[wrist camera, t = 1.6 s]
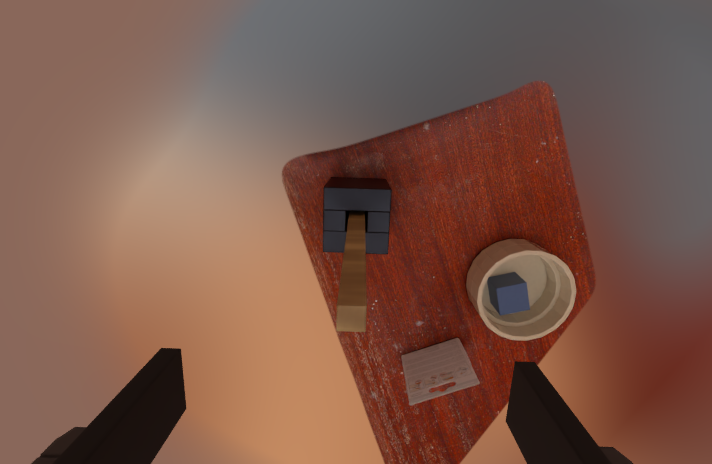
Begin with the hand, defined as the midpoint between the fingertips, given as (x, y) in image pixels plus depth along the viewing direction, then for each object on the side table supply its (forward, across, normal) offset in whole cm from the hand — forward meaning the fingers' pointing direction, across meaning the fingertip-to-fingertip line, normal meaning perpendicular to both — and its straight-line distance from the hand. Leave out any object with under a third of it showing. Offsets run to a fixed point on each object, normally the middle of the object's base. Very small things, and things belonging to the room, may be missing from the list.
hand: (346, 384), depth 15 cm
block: (+38, +21, -11) cm, 44 cm away
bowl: (+38, +22, -10) cm, 45 cm away
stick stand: (+38, 0, 0) cm, 38 cm away
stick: (+38, 0, +1) cm, 38 cm away
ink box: (+38, +12, -22) cm, 46 cm away
